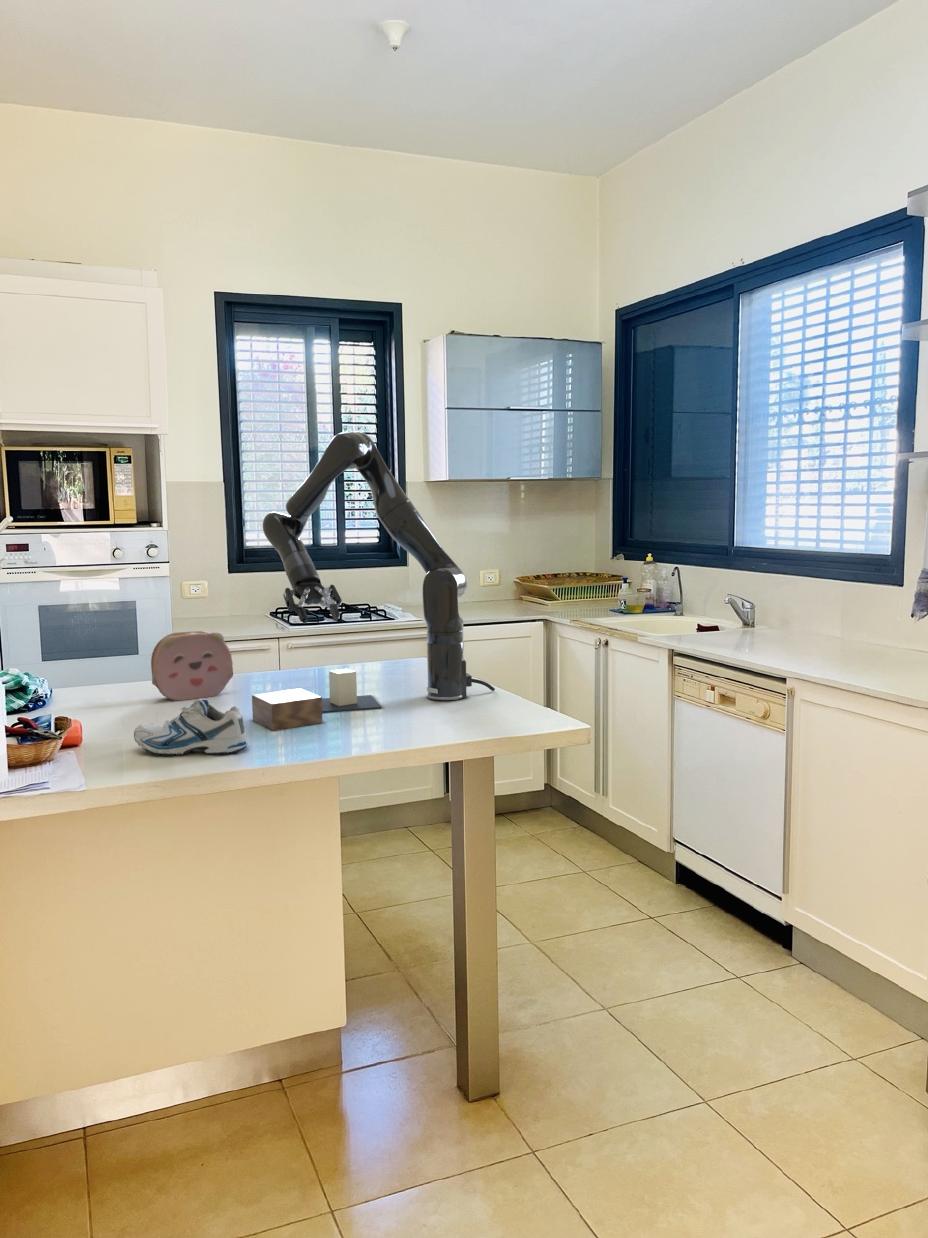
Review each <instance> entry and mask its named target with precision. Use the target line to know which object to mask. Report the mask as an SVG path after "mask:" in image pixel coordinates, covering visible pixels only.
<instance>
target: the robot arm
mask: <svg viewBox="0 0 928 1238" xmlns="http://www.w3.org/2000/svg"><path fill="white" fill-rule="evenodd" d="M354 469H356V470H357V471H358V473H359V474H360V475H361V476H362V478H363V479H364V480H365V483H366V484H367V485H368V487H369V489H370V493H371V495H372V501H373V506H374V511H375V513H376V516H377V518H378V520H379V521H380V523H381V524H382V526H383V527H384V529H385V530H386V531H387V533H388V534H389V536H390V537H391V538H392V540H394V541H395V542H396V543H397V544H398V546H400V547H401V548H403V550H405V551H406V552H407V553H408V554H410V556H412V557H413V558H414V559H415V560H416V561H417V562H418V564H419V565H420V566H421V567H422V569H423V570H424V572H425V575H424V577H423V581H422V609H423V610H422V611H423V618H424V621H425V624H426V653H427V654H426V655H427V656H426V660H427V662H426V663H427V664H426V665H427V666H426V667H427V686H426V692H427V698H428V699H430V700H434V701H456V700H460V699H467V698H468V697H467V688H468V687H469V688H470V687H472V685H473V684H479V685H481V686H484V687H486V688H488V689H489V690H490V691H492V692H494V691H495V690H496V688H495V687H494V686H493V685H491V684H490V683H488V682H486V681H485V680H481V679H476V678H473V677H472V675H471V674H469V673H467V660H466V659H465V658H464V657H465V656H464V655H465V654H464V651H465V650H464V647H465V646H464V645H465V644H464V643H465V641H464V619H463V618H462V617H461V616H460V613H459V600H460V599H461V598H462V597H464V596H465V595H466V591H467V588H468V581H467V579H466V575H465V574H464V572H463V571H462V569H461V568H460V567H459V565H457V563H455V561H454V559H452V558H451V556H450V555H449V554H448V553H447V552H446V551H445V549H444V548H443V547H442V546H441V545H440V543H439V541H438V540H437V539H436V537H435V534H434V533H433V532H432V531H431V529H430V528H429V526H428V524H427V523H426V522H425V520H424V519H423V517H422V516H421V514H420V512H419V511H418V509H417V508H416V506H415V505H414V504H413V502H412V501H411V500H410V498H409V497H408V495H407V494H406V493H405V492H404V490H403V489H402V487H401V485H400V484H399V482H398V481H397V480H396V478H395V477H394V475H393V474H392V472H391V471H390V469H389V468H388V465H387V464H386V461H384V459H383V457H382V455H381V453H380V451H379V450H378V447H377V446H376V444H375V443H374V441H373V440H372V438H371V437H370V436H369V435H368V434H367V433H365V432H362V431H346V432H340V433H338V434H336V435H334V437H333V438H332V439H331V440H330V442H329V444H328V445H327V446H326V447H325V450H324V452H323V453H322V456H320V458H319V460H318V462H317V463H316V465H315V467H314V468H313V469H312V471H311V472H310V474H309V475H308V477H306V479H305V480H304V481H303V483H301V485H300V486H299V487H298V488H297V490H296V491H295V492H294V493H293V494H292V495H291V496H290V497H289V499H288V500H287V501H286V503H285V510H286V512H287V513H288V514H286V513H281V512H276V511H272V512H268V513H267V514H266V515H265V516H264V518H263V520H262V532H263V534H264V536H265V538H266V539H267V541H268V542H269V543H270V544H271V546H272V548H274V549H275V551H276V552H277V553H278V554H279V557H280V559H281V562H282V564H283V567H284V572H285V575H286V577H287V579H288V581H289V584H290V586H291V588H292V589H291V588H289V587H286V588H285V590H284V591H283V594H282V596H283V599H284V602H285V605H286V608H287V611H288V612H290V613H291V612H295V613H297V617H298V619H299V621H300V622H301V623H302V624H304V625H305V624H307V623H308V621H309V617H308V614H307V611H306V609H305V607H304V604H305V605H306V606H308V605H310V606H311V605H320V606H322V607H325V608H327V609H328V610H329V612H330V615H331V617H332V619H333V621H334V622H335V621H338V620H339V618H340V614H341V613H340V611H339V608H340V605H341V603H342V602H343V600H342V597H341V596H340V594H339V592H338V590H337V588H336V586H335V585H334V584H330V585H329V586H328V587H327V586H326V587H325V586H324V585H322V581H321V578H320V575H319V573H318V571H317V568H316V566H315V564H314V562H313V560H312V558H311V556H310V555H309V553H308V551H307V548H306V546H305V544H304V542H303V540H301V539H300V537H301V535H302V533H303V532H304V529H305V527H306V524H307V522H308V520H309V518H310V517H311V515H313V513H314V512H315V511H316V510H317V509H318V508H319V507H320V506H321V504H322V503H323V502H324V500H325V498H326V496H327V494H328V491H329V488H330V486H331V485H332V483H333V482H334V481H335V480H336V479H337V478H338V477H339V476H340V475H342V474H343V473H344V472H345V471H347V470H354ZM294 597H295V598H297V599H298V600H299V601H298V603H295V600H294Z"/></svg>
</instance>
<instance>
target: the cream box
mask: <svg viewBox="0 0 928 1238" xmlns="http://www.w3.org/2000/svg"><path fill="white" fill-rule="evenodd" d="M328 686H329V688H328V689H329V698H330V703H333V704H335V705H337V706H343V705H350V704H356V703H357V696H358V689H357V671H356V670H354V669H350V668H340V669H333V670H329V671H328Z"/></svg>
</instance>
